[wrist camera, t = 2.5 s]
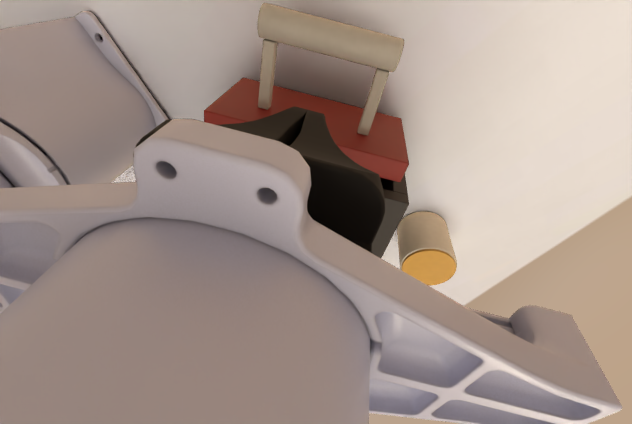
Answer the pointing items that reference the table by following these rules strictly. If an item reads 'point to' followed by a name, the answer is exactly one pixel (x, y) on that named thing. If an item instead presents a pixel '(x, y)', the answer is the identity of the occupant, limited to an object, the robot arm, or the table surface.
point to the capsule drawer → (342, 120)
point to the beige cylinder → (426, 248)
